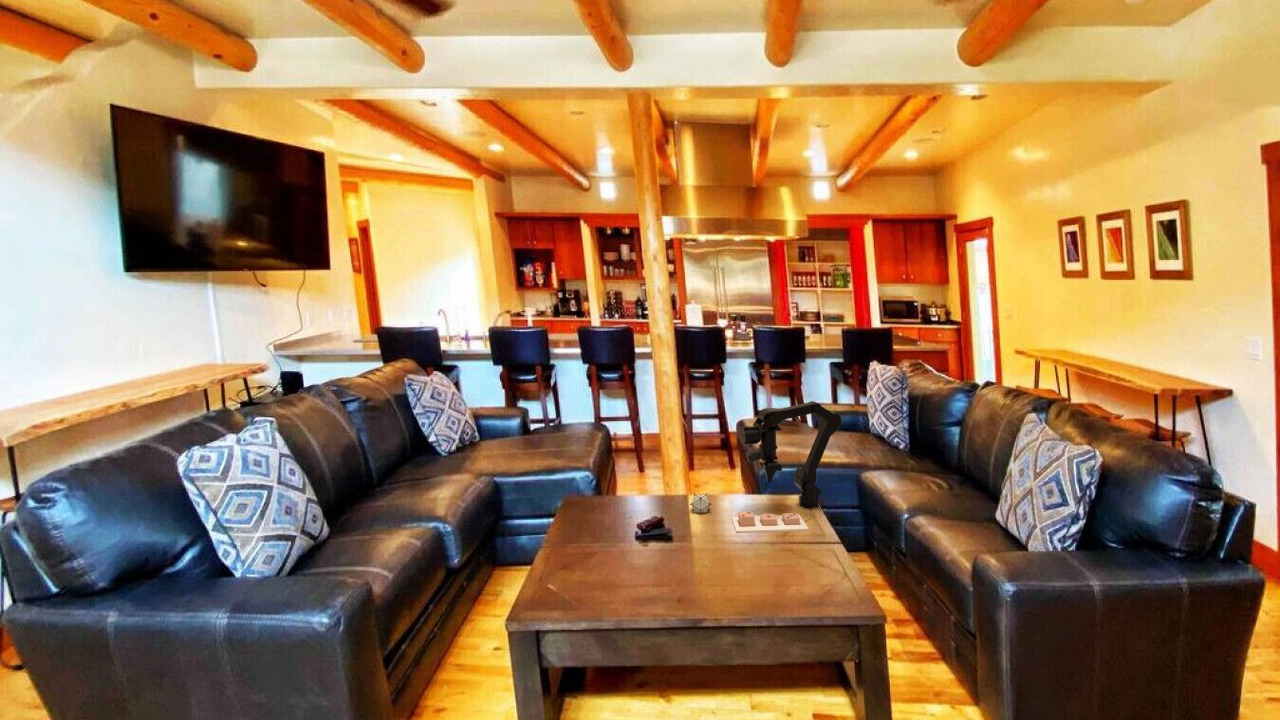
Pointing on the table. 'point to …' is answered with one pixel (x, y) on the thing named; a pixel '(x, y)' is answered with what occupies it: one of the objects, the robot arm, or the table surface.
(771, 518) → the tile one dot
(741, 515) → the tile two dots
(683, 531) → the table surface
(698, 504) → the game die
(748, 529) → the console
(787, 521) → the tile three dots
